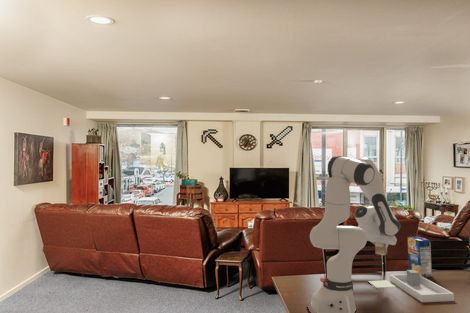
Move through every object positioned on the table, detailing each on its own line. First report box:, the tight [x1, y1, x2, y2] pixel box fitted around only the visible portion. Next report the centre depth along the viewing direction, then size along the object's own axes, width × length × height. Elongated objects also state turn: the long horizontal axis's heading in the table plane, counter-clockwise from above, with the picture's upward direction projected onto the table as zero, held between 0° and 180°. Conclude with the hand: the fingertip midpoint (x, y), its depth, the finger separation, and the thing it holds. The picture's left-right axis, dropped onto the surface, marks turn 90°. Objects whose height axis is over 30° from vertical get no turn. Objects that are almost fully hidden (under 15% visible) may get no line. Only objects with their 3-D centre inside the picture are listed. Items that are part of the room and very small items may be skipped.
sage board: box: [367, 279, 397, 290], centre depth 179 cm, size 11×10×1 cm
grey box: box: [406, 269, 420, 286], centre depth 177 cm, size 4×4×7 cm
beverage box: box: [407, 235, 433, 278], centre depth 194 cm, size 7×11×22 cm, turn 7°
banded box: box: [374, 242, 388, 256], centre depth 179 cm, size 5×5×9 cm
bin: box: [389, 273, 455, 303], centre depth 168 cm, size 16×29×4 cm, turn 2°
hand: (381, 244), depth 180 cm, fingers closed on banded box, 4 cm apart
